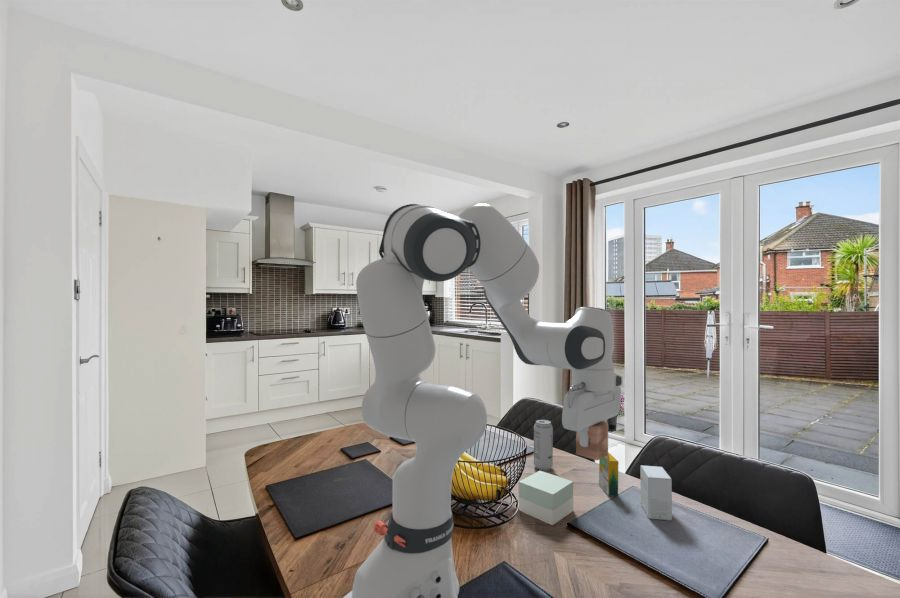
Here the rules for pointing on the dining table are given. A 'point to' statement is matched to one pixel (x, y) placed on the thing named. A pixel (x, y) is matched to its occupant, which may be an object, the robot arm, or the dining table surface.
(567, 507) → the tower base block
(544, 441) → the energy drink can
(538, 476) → the tower top block
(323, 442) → the dining table surface
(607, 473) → the crayon box
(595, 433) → the terracotta block
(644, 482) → the small box
